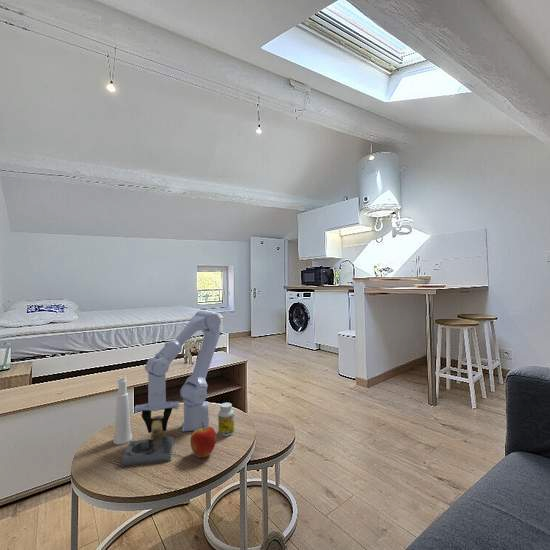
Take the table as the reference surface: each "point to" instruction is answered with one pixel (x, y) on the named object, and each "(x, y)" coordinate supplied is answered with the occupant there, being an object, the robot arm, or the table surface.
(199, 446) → the apple
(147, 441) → the plate
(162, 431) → the bushing
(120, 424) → the cosmetic bottle
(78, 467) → the table surface
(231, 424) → the supplement bottle
